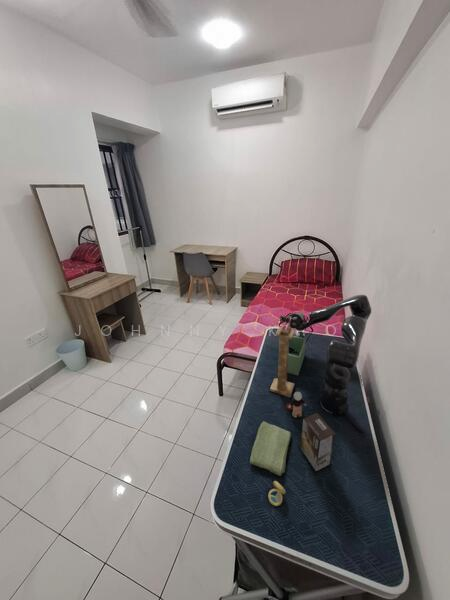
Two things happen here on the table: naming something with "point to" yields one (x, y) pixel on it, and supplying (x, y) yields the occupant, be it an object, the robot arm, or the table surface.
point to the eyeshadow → (276, 494)
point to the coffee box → (317, 441)
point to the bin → (296, 355)
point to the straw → (287, 326)
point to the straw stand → (283, 363)
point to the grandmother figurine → (297, 404)
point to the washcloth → (270, 448)
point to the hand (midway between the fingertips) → (289, 320)
